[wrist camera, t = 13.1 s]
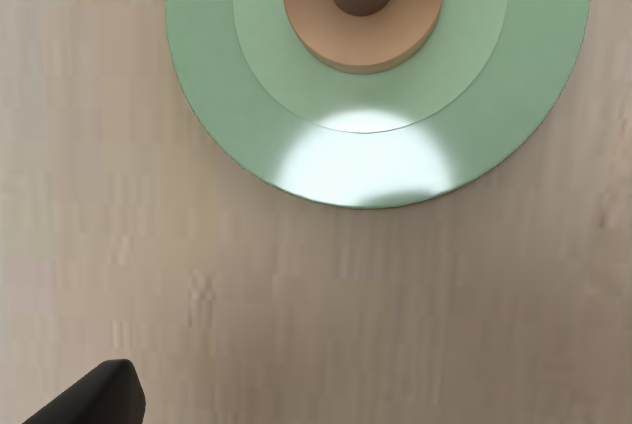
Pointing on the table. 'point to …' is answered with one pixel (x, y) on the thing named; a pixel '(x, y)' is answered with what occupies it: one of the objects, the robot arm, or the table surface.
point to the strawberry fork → (363, 31)
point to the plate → (374, 96)
